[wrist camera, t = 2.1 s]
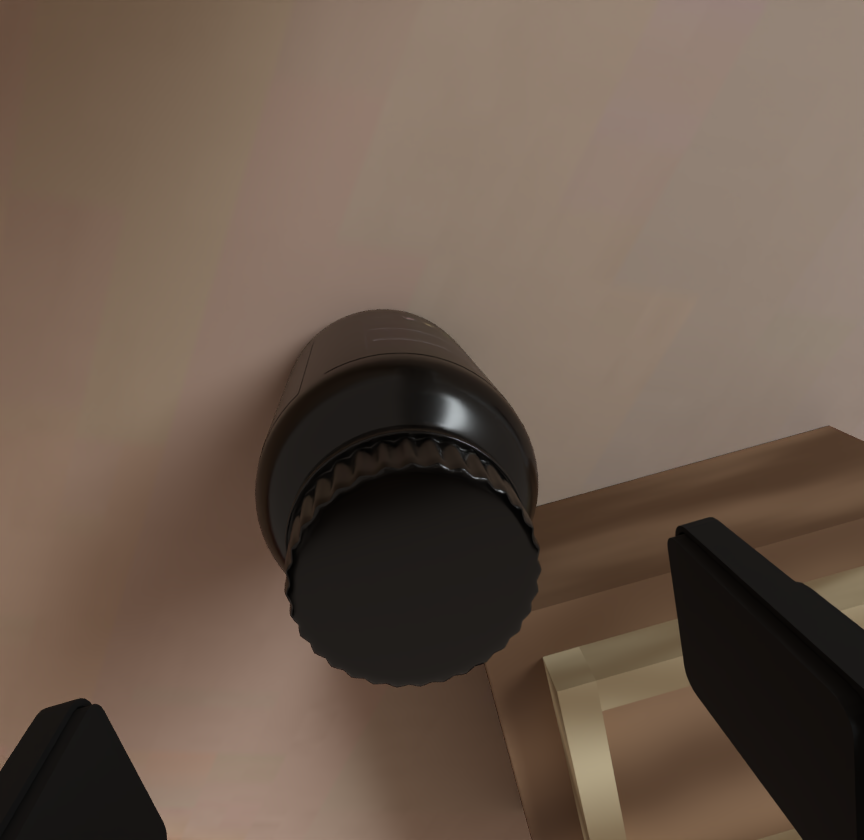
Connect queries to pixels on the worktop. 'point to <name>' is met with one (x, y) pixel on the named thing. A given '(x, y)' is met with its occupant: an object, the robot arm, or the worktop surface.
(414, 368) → the supplement bottle
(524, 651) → the display riser
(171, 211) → the worktop surface
